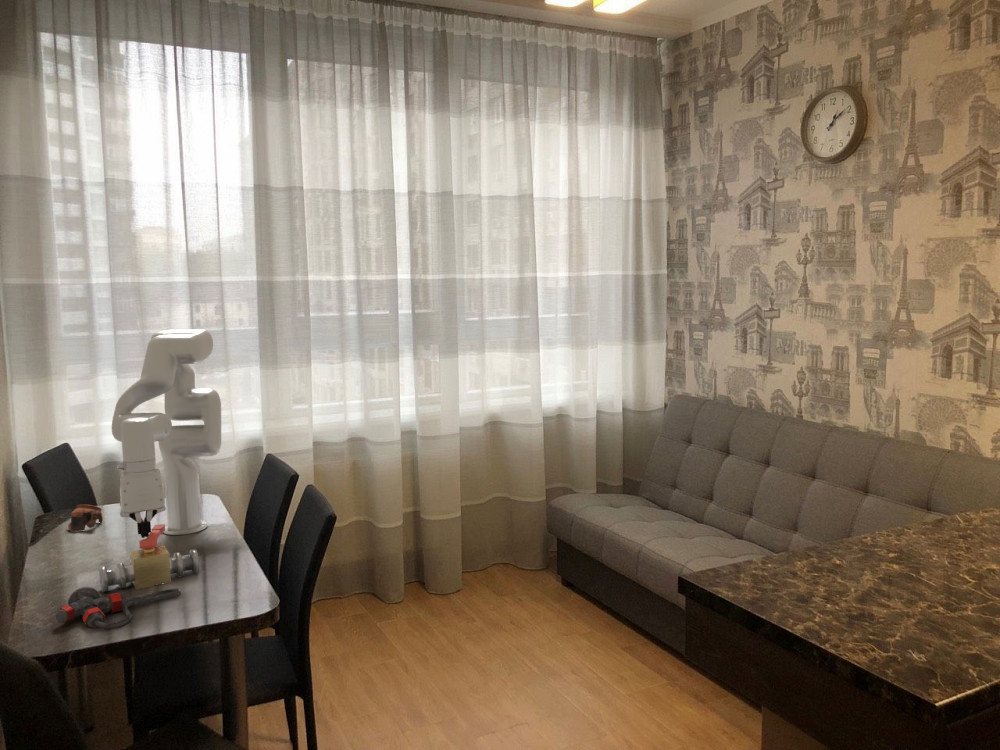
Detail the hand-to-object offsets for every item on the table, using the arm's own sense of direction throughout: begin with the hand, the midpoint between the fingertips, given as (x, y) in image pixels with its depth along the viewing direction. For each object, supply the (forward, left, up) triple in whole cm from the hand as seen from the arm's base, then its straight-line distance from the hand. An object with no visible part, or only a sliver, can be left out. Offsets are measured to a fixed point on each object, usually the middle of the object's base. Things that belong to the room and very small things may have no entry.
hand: (144, 536), depth 204 cm
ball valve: (+10, -1, -9) cm, 13 cm away
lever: (+4, +1, 0) cm, 5 cm away
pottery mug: (-51, -9, -9) cm, 53 cm away
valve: (+27, -9, -10) cm, 30 cm away
